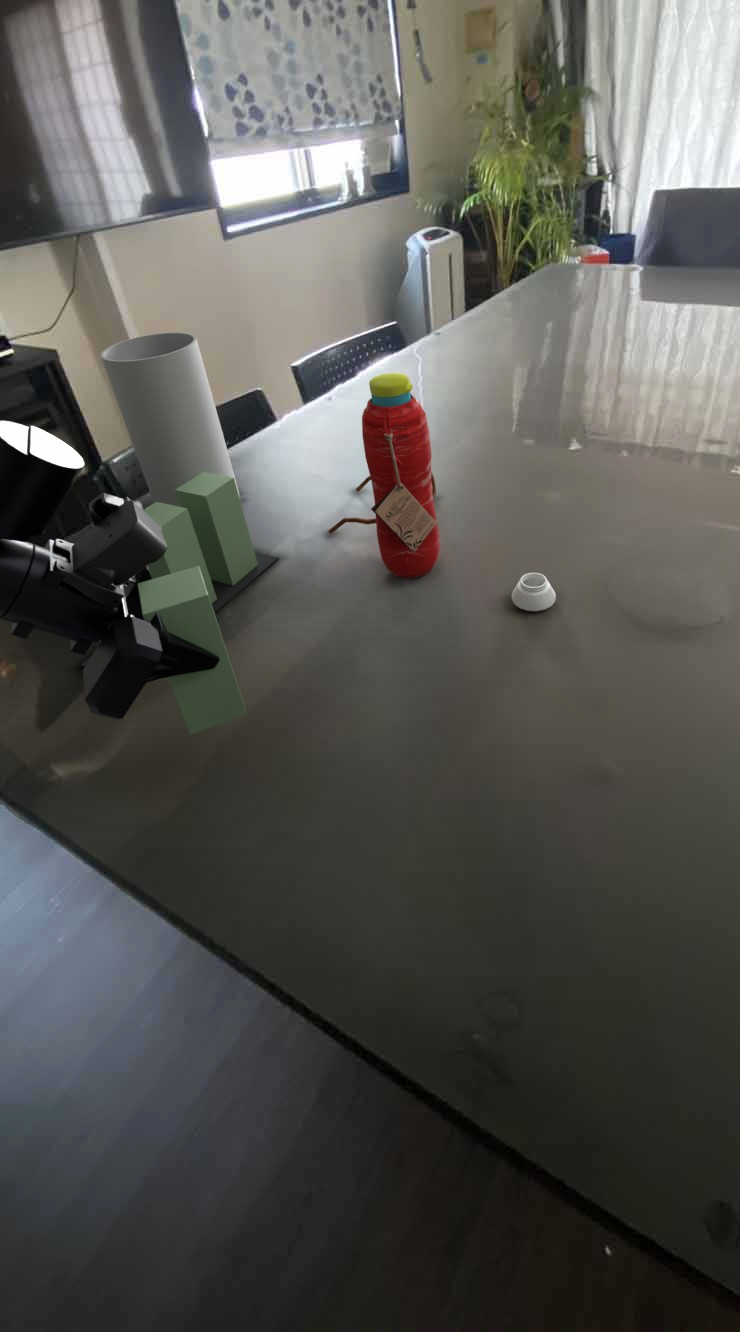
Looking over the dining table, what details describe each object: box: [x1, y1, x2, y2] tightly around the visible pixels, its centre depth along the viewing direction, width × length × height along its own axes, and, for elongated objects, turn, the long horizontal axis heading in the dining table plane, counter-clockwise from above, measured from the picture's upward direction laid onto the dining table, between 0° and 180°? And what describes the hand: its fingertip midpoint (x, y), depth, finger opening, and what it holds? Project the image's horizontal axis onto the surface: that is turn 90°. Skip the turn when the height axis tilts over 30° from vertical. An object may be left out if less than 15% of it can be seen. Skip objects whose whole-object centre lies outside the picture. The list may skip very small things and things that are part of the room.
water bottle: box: [361, 372, 441, 579], centre depth 79 cm, size 12×8×25 cm, turn 176°
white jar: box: [511, 572, 557, 612], centre depth 79 cm, size 5×3×5 cm
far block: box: [175, 472, 258, 585], centre depth 86 cm, size 5×5×13 cm
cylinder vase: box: [100, 331, 240, 507], centre depth 99 cm, size 12×12×25 cm
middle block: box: [143, 502, 217, 604], centre depth 81 cm, size 5×5×13 cm
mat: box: [80, 551, 280, 669], centre depth 84 cm, size 26×8×1 cm, turn 153°
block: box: [138, 566, 248, 735], centre depth 58 cm, size 5×5×13 cm
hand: (210, 645), depth 58 cm, fingers closed on block, 5 cm apart
